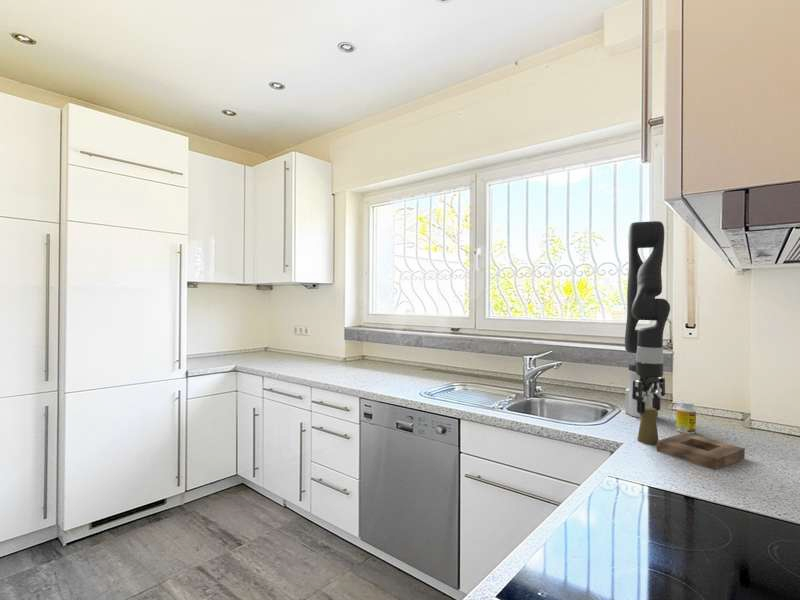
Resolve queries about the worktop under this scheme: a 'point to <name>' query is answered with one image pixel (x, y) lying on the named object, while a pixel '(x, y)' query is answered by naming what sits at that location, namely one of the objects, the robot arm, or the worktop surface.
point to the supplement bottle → (686, 417)
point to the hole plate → (701, 450)
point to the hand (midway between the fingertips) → (648, 411)
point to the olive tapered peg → (648, 427)
